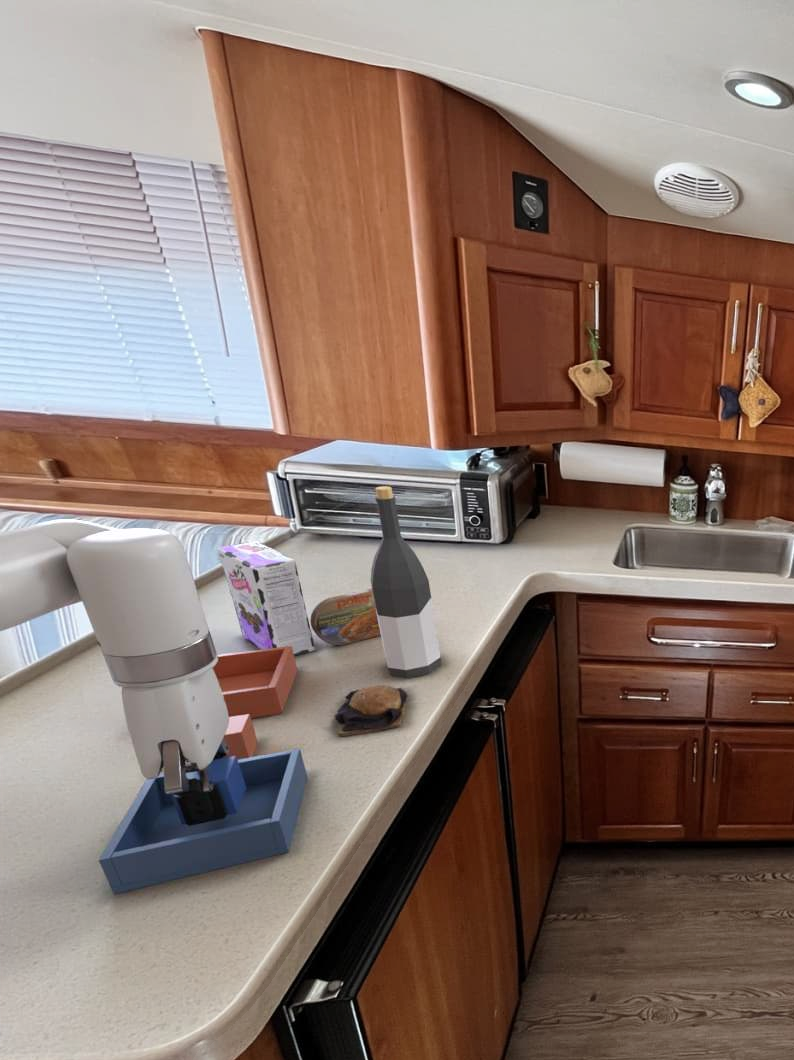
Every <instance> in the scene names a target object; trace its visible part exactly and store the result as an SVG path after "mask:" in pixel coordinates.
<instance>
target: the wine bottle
mask: <svg viewBox="0 0 794 1060" xmlns="http://www.w3.org/2000/svg"><path fill="white" fill-rule="evenodd" d="M375 493H376V496H374V499H375V502H376V505H377V511H378V517H379V522H380V528H381V533H382V538H381V541H380V544H379V546H378V547H377V550H376V552H375V554H374V557H373V561H372V565H371V568H370V569H371V570H370V586H371V588H372V592H373V597H374V602H375V607H376V612H377V617H378V622H379V628H380V633H381V635H380V637H381V642H382V649H383V652H384V658H385V663H386V666H387V670H388V673H389V675H390V676H391V677H396V678H403V679H410V678H411V679H412V678H415V677H420V676H425V675H429V674H431V673H432V672H434V671H435V670H436V669H439V668H440V667H441V666H442V656H441V651H440V644H439V638H438V632H437V625H436V624H437V623H436V619H435V612H434V607H433V600H432V595H431V586H430V580H429V578H428V575H427V573H426V571H425V569H424V567H423V565H422V562H421V561H420V559H419V558H418V555H417V554H416V553H415V551H414V550H413V549H412V548H411V546H410V545H409V544H408V543H407V542H406V540H405V539H404V537H402V534H401V533H402V532H401V528H400V523H399V522H400V521H399V516H398V515H399V514H398V509H397V503H396V502H397V500H396V496H395V495H394V494H393V493H394V492H393V488H392V487H391V486H387V485H385V486H383V485H382V486H377V487H375Z"/></svg>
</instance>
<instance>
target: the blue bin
mask: <svg viewBox="0 0 794 1060" xmlns="http://www.w3.org/2000/svg"><path fill="white" fill-rule="evenodd" d="M303 758H304V757H303V755H302V751H301V748H295V749H294V748H293V749H289V750H283V751H278V752H274V753H273V752H272V753H268V754H267V753H266V754H261V755H256V756H253V757H250V758H244V759H239V760H238V763H239V766H240V769H241V772H242V776H243V779H244V782H245V785H246V790H245V793H244V796H243V798H242V801H241V804H240V806H239V809H238V812H237V813H235V814H231V815H226V817H225V818H224V819H220V820H215V821H211V822H206V823H201V824H197V825H192V826H189V825H187V824H184V825H182V823H181V821H180V818H179V815H178V813H177V810H176V807H175V805H174V802H173V799H172V797H171V794H166V793H165V785H164V772H162V773H160V774H159V776H158V777H156V778H154V779H150V780H149V779H145V781H144V783H143V785H142V786H141V788H140V790H139V791H138V793H137V795H136V796H135V798H134V800H133V801H132V804H131V805H130V807H129V808H128V810H127V811H126V814H125V815H124V817H123V819H122V820H121V822H120V824H119V825H118V827H117V829H116V831H115V832H114V834H113V836H112V838H111V839H110V841H109V842H108V844H107V845H106V847H105V850H103V853H102V854H101V856H100V858H99V859H98V862H99V866H100V867H101V869H102V871H103V874H104V876H105V879H106V880H107V883H108V884H109V887H110V889H111V892H112V894H113V895H116V894H121V893H126V892H128V891H133V890H137V889H141V888H145V887H150V886H154V885H158V884H161V883H166V882H170V881H175V880H179V879H183V878H186V877H190V876H195V875H199V874H203V873H208V872H211V871H216V870H220V869H224V868H228V867H232V866H236V865H241V864H244V863H249V862H254V861H257V860H262V859H265V858H269V857H273V856H277V855H282V854H287V853H289V852H290V848H291V844H292V841H293V836H294V832H295V829H296V824H297V820H298V816H299V812H300V808H301V804H302V801H303V796H304V792H305V789H306V784H307V781H308V773H307V769H306V766H305V761H304V759H303Z"/></svg>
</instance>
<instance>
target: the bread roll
mask: <svg viewBox="0 0 794 1060" xmlns="http://www.w3.org/2000/svg"><path fill="white" fill-rule="evenodd" d="M344 698H345V699H344V703H343V704H342V705H341V706H340V708H339V709H338V710H337V713H336V714H335V715H334V717H335V721H336V722H337V723H338V727H337V728H338V733H337V734H338V737H349V736H354V735H365V734H367V733H370V732H375V733H376V732H377V733H378V732H381V731H384V730H388V729H395V728H399V727H401V726H402V724H403V721H404V718H405V717H404V716H405V715H406V713H405V712H406V708H407V700H408V694H407V692H406V689H405V688H403V687H394V686H391V685H386V684H374V685H366V686H364V687H362V688H360V689H356V690H352V691H350V692H349V693H348V694H346V696H344Z"/></svg>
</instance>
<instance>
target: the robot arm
mask: <svg viewBox="0 0 794 1060" xmlns="http://www.w3.org/2000/svg"><path fill="white" fill-rule="evenodd" d="M192 572H193V571H192V569H191V567H190V563H189V560H188V555H187V552H186V551H185V548H184V546H183V543H182V541H181V540H180V539H179V538H178V537H177V535H174V534H173V533H172V532H168V531H167V530H162V529H155V528H123V529H121V528H115V527H110V526H106V525H103V524H98V523H94V522H90V521H84V520H78V519H77V520H76V519H53V520H48V521H41V522H37V523H34V524H31V525H26V526H23V527H19V528H15V529H11V530H6V531H2V532H0V632H3V631H7V630H8V629H12V628H14V627H17V626H19V625H23V624H25V623H27V622H29V621H30V622H31V621H32V620H35V619H37V618H40V617H42V616H45V615H48V614H50V613H53V612H55V611H57V610H60V609H63V608H65V607H68V606H71V605H75V604H78V603H82V604H83V607H84V609H85V612H86V614H87V617H88V619H89V623H90V625H91V628H92V630H93V633H94V636H95V638H96V641H97V644H98V646H99V648H100V651H101V653H102V656H103V658H104V661H105V663H106V666H107V669H108V671H109V673H110V677H111V680H112V682H113V683H114V685H116V686H118V687H121V699H122V706H123V713H124V717H125V722H126V725H127V730H128V733H129V737H130V740H131V743H132V747H133V751H134V754H135V756H136V757H135V758H136V759H137V763H138V766H139V769H140V772H141V774H142V776H143V777H144V778H145V780H147V779H149V780H150V779H154V778H156V777H158V776H159V774H162V773H161V772H162V771H163V773H164V785H165V793H166V794H174V797H175V798H176V799H177V801H178V803H179V806H180V809H181V811H182V814H183V817H184V819H185V822H186V824H187V825H189V826H192V825H197V824H201V823H206V822H211V821H215V820H220V819H224V818H225V817H226V815H227V810H226V807H225V804H224V801H223V798H222V795H221V792H220V789H219V786H218V785H214V786H213V782H212V777H211V773H210V768H209V764H210V763H211V762H212V760H215V759H221V758H226V757H223V756H228V754H229V748H228V745H227V743H226V741H225V739H224V735H225V733H226V731H227V728H228V724H229V715H228V711H227V707H226V703H225V700H224V696H223V694H222V691H221V688H220V685H219V682H218V680H217V677H216V675H215V672H214V670H213V667H214V666H215V665H216V664H217V662H218V656H217V655H218V654H217V651H216V648H215V644H214V641H213V637H212V634H211V631H210V628H209V625H208V622H207V618H206V615H205V612H204V608H203V606H202V601H201V598H200V596H199V592H198V589H197V586H196V583H195V580H194V576H193V573H192ZM229 757H231V756H229ZM187 761H188V762H190V763H186V762H187ZM195 771H199V776H200V780H199V779H196V778H193V779H188V778H187V777H186V773H190V772H195Z"/></svg>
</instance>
